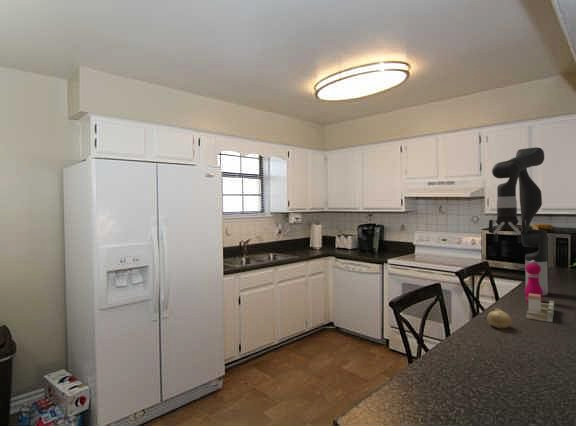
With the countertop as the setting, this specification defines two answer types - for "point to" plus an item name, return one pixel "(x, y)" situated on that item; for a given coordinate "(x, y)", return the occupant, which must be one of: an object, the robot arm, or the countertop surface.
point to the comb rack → (543, 312)
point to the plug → (534, 303)
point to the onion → (499, 319)
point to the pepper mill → (533, 280)
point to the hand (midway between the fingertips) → (507, 242)
